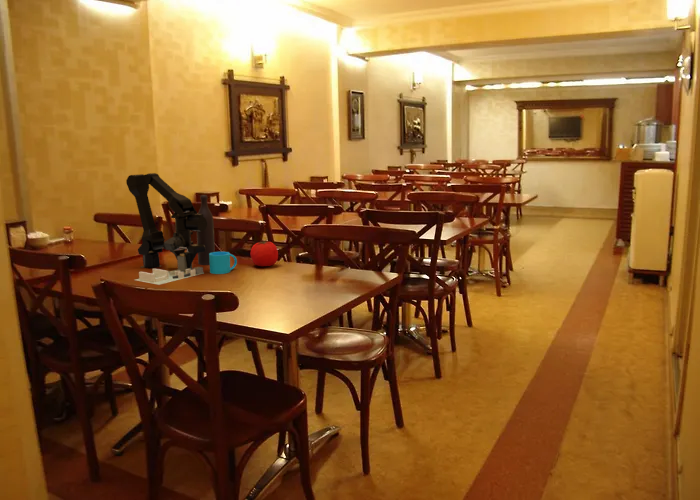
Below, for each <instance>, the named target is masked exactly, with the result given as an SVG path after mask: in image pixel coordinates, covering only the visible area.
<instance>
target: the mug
mask: <svg viewBox="0 0 700 500" xmlns="http://www.w3.org/2000/svg"><path fill="white" fill-rule="evenodd" d="M231 257H232V258H233V260H234V261H233V262H234V263H233V265H232V266H231ZM209 262H210V265H209V273H210V274H213V275H224V274H229V273H231V271H232V270H234V268H236V266H237V265H238V259H237V257H236V256H235V255H234V254H232V253H230V251H215V252H213V253H210V254H209Z"/></svg>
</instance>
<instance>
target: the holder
mask: <svg viewBox="0 0 700 500" xmlns="http://www.w3.org/2000/svg"><path fill="white" fill-rule="evenodd" d="M168 272H169V270H165V269H160V268H152V272H151V273H150V272H146V271H139V272H138V276H139V277H138V279H139V280H144V281H149V282H158V281H162V280H166V279H169V273H168ZM155 277H158V278H155Z"/></svg>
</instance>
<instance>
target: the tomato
mask: <svg viewBox="0 0 700 500" xmlns="http://www.w3.org/2000/svg"><path fill="white" fill-rule="evenodd" d="M249 254H250V259H251V261H252V262H253V264H254V265H256V266H258V267H270V266H273V265H275V264H276V262H277V261H278V259H279V250H278V248H277V246H276V244H274V243H273V242H272V241H267V240H265V241H264V240H263V241H259V242H256V243H255V244H253V245H252V247H251V249H250V253H249Z"/></svg>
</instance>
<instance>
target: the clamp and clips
mask: <svg viewBox="0 0 700 500" xmlns="http://www.w3.org/2000/svg"><path fill="white" fill-rule="evenodd" d="M185 271H186V274H188V273H190V276H192V277H194V276H195V277H196V276H199V275H202V273H203V274H204V267H202V266H195V267H192V270H191V269H185ZM196 274H197V275H196ZM198 274H199V275H198ZM177 275H178V279H180V280H182V279H181V278H184V272H181V271H175V276H177ZM184 279H185V278H184Z"/></svg>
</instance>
